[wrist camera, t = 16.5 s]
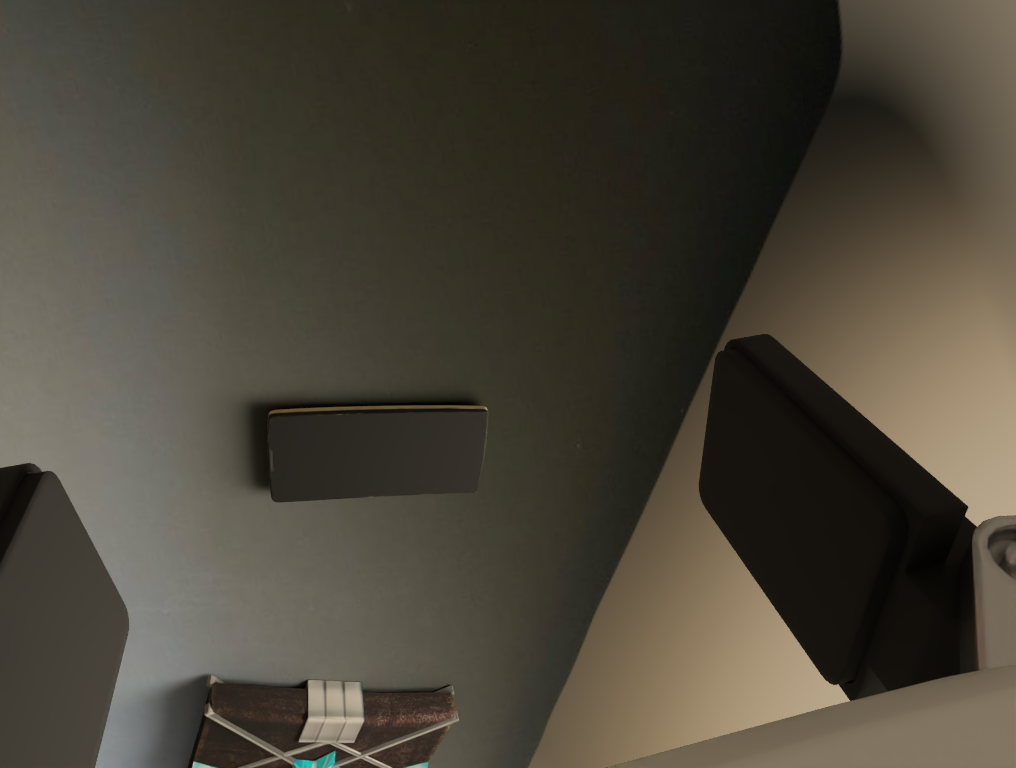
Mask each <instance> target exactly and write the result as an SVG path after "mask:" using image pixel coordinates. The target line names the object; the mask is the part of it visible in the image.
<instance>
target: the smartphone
mask: <svg viewBox="0 0 1016 768" xmlns="http://www.w3.org/2000/svg"><path fill="white" fill-rule="evenodd" d="M487 431H488V410H487V408H486V407H485V406H459V405H408V406H354V407H322V408H299V409H280V410H273V411H270V412H269V415H268V427H267V461H268V472H269V482H270V491H271V497H272V500H273V501H274V502H295V501H311V500H326V499H344V498H362V497H380V496H400V495H420V494H446V493H474V492H476V491H477V489H478V485H479V481H480V476H481V472H482V466H483V461H484V455H485V448H486V440H487Z"/></svg>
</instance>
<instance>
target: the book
mask: <svg viewBox="0 0 1016 768" xmlns="http://www.w3.org/2000/svg"><path fill="white" fill-rule="evenodd" d="M206 686H207V687H209V688H210V690H209V694H208V697H207V701H206V705H205V709H204V713H203V716H202V720H201V724H200V727H199V731H198V734H197V738H196V741H195V744H194V748H193V751H192V755H191V758H190V761H189V765H188V768H428V762H429V760H430V758H431V757H432V755H433V753H434V751H435V749H436V748H437V746H438V745H439V743H440V742H441V740H442V738H443V737H444V735H445V734H446V732H447V730H448V729H449V727H450V726H451V724H452V723H455V722H457V721H459V719H458V713H457V711H455V712H454V709H455V703H454V697H453V695H454V690H453V686H452V685H451V686H448V687H446V688H443V689H441V690H438V691H436V692H423V693H371V692H362V682H344V681H322V680H308V682H307V685H306V687H305V689H296V688H279V687H266V686H253V685H240V684H227V683H224V682H223V681H221V680H219V679H218V678H216V677H214V676H213V675H209V676H208V678H207V685H206ZM453 716H454V717H453Z"/></svg>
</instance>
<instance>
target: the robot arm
mask: <svg viewBox="0 0 1016 768" xmlns="http://www.w3.org/2000/svg"><path fill="white" fill-rule="evenodd" d="M699 493H700V497H701V500H702V503H703V504H704V506H705V508H706V510H707V511H708V513H709V514H710V515H711V517H712V518H713V520H714V521H715V523H716V524H717V525H718V527H719V528H720V530H721V531H722V533H723V534H724V536H725V537H726V538H727V540H728V541H729V543H730V544H731V546H732V547H733V548H734V550H735V551H736V553H737V554H738V556H739V557H740V559H741V560H742V561H743V563H744V564H745V566H746V567H747V569H748V570H749V571H750V573H751V574H752V576H753V577H754V579H755V580H756V582H757V583H758V584H759V586H760V587H761V589H762V590H763V592H764V593H765V594H766V596H767V597H768V599H769V600H770V602H771V603H772V605H773V606H774V607H775V609H776V610H777V612H778V613H779V615H780V616H781V618H782V619H783V620H784V622H785V623H786V625H787V626H788V627H789V629H790V630H791V632H792V633H793V635H794V636H795V638H796V639H797V640H798V642H799V643H800V645H801V646H802V648H803V649H804V650H805V652H806V653H807V655H808V656H809V658H810V659H811V661H812V662H813V664H814V665H815V666H816V668H817V669H818V670H819V672H820V674H821V675H822V676H823V677H824V679H825V680H826V681H828V682H829V683H830V684H833V685H837V684H839V686H840V687H841V688H842V690H843V691H844V693H845V694H846V695H847V697H848V698H849V700H850V701H849V702H845V703H841V704H838V705H833V706H829V707H826V708H822V709H818V710H815V711H811V712H807V713H804V714H801V715H797V716H794V717H789V718H786V719H782V720H779V721H775V722H771V723H767V724H764V725H760V726H756V727H753V728H749V729H745V730H742V731H738V732H735V733H731V734H727V735H723V736H720V737H716V738H713V739H709V740H705V741H702V742H698V743H694V744H691V745H687V746H683V747H680V748H676V749H672V750H669V751H665V752H661V753H658V754H654V755H651V756H647V757H643V758H639V759H636V760H632V761H629V762H625V763H622V764H618V765H614V766H611V767H607V768H1016V516H998V517H994V518H992V519H988V520H986V521H983V522H982V523H981V524H980V525H979V526H978V527H976V526H975V525H974V524H973V523H972V522H971V521H969V520H968V519H967V518H966V517H965V513H966V511H967V509H968V506H967V505H966V504H964V503H963V502H962V501H961V500H960V499H959V498H958V497H956V496H955V495H954V494H953V493H952V492H951V491H949V490H948V489H947V488H946V487H945V486H944V485H942V484H941V483H940V482H939V481H938V480H937V479H936V478H935V477H933V476H932V475H931V474H930V473H929V472H927V471H926V470H925V469H924V468H923V467H922V466H921V465H919V464H918V463H917V462H916V461H915V460H914V459H913V458H911V457H910V456H909V455H908V454H907V453H906V452H905V451H903V450H902V449H901V448H900V447H899V446H898V445H896V444H895V443H894V442H893V441H892V440H891V439H890V438H888V437H887V436H886V435H885V434H884V433H883V432H881V431H880V430H879V429H878V428H877V427H876V426H875V425H873V424H872V423H871V422H870V421H869V420H868V419H867V418H865V417H864V416H863V415H862V414H861V413H860V412H858V411H857V410H856V409H855V408H854V407H853V406H851V405H850V404H849V403H848V402H847V401H846V400H845V399H843V398H842V397H841V396H840V395H839V394H837V392H835V391H834V390H833V389H832V388H831V387H829V385H827V384H826V383H825V382H824V381H823V380H821V379H820V378H819V377H818V376H817V375H816V374H815V373H814V372H812V371H811V370H810V369H809V368H808V367H807V366H805V365H804V364H803V363H802V362H801V361H800V360H798V359H797V358H796V357H795V356H794V355H793V354H792V353H790V352H789V351H788V350H787V349H786V348H785V347H784V346H782V345H781V344H780V343H779V342H778V341H777V340H775V339H774V338H773V337H772V336H770V335H768V334H761V335H756V336H750V337H744V338H738V339H733V340H730V341H729V342H728V343H727V345H726V346H725V349H724V351H720V352H719V353H718V354H717V356H716V358H715V364H714V372H713V380H712V387H711V394H710V402H709V410H708V418H707V425H706V433H705V440H704V448H703V456H702V464H701V471H700V480H699ZM128 630H129V618H128V612H127V609H126V606H125V604H124V602H123V600H122V598H121V596H120V594H119V592H118V590H117V589H116V587H115V585H114V583H113V581H112V579H111V577H110V575H109V573H108V571H107V570H106V568H105V566H104V564H103V562H102V560H101V558H100V556H99V554H98V552H97V550H96V549H95V547H94V545H93V543H92V541H91V539H90V537H89V535H88V533H87V531H86V530H85V528H84V526H83V524H82V522H81V520H80V518H79V516H78V514H77V512H76V511H75V509H74V507H73V505H72V503H71V501H70V499H69V497H68V495H67V493H66V492H65V490H64V488H63V486H62V484H61V482H60V480H59V479H58V477H57V476H56V474H54V473H53V472H51V471H45V472H42V471H41V470H40V468H38V467H37V466H36V465H35V464H31V463H27V464H21V465H15V466H9V467H4V468H0V768H95V765H96V761H97V757H98V753H99V749H100V745H101V741H102V737H103V733H104V729H105V725H106V721H107V717H108V713H109V709H110V705H111V701H112V697H113V693H114V688H115V684H116V680H117V676H118V672H119V668H120V664H121V660H122V656H123V652H124V648H125V644H126V640H127V636H128Z"/></svg>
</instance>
